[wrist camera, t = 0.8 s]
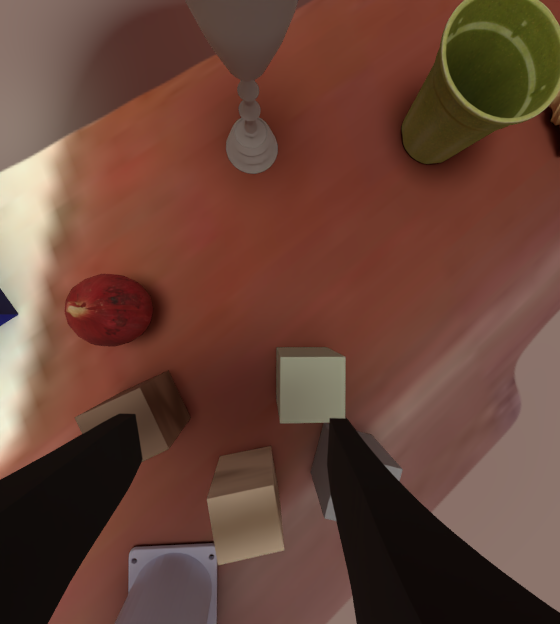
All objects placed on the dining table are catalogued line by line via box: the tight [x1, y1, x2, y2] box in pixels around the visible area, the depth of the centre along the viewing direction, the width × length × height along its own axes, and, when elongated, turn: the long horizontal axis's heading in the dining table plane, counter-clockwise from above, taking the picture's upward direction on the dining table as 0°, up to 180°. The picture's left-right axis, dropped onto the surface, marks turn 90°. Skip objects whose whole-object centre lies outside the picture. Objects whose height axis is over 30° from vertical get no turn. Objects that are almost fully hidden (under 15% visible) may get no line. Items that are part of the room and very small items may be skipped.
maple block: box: [207, 446, 284, 565], centre depth 23 cm, size 5×5×6 cm
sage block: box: [276, 347, 345, 423], centre depth 23 cm, size 5×5×6 cm
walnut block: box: [75, 370, 191, 462], centre depth 22 cm, size 5×5×6 cm
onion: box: [65, 274, 153, 346], centre depth 21 cm, size 6×6×8 cm
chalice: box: [186, 0, 298, 174], centre depth 17 cm, size 7×7×18 cm
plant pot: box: [401, 0, 560, 164], centre depth 23 cm, size 9×9×9 cm
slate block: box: [311, 423, 402, 521], centre depth 24 cm, size 5×5×6 cm
